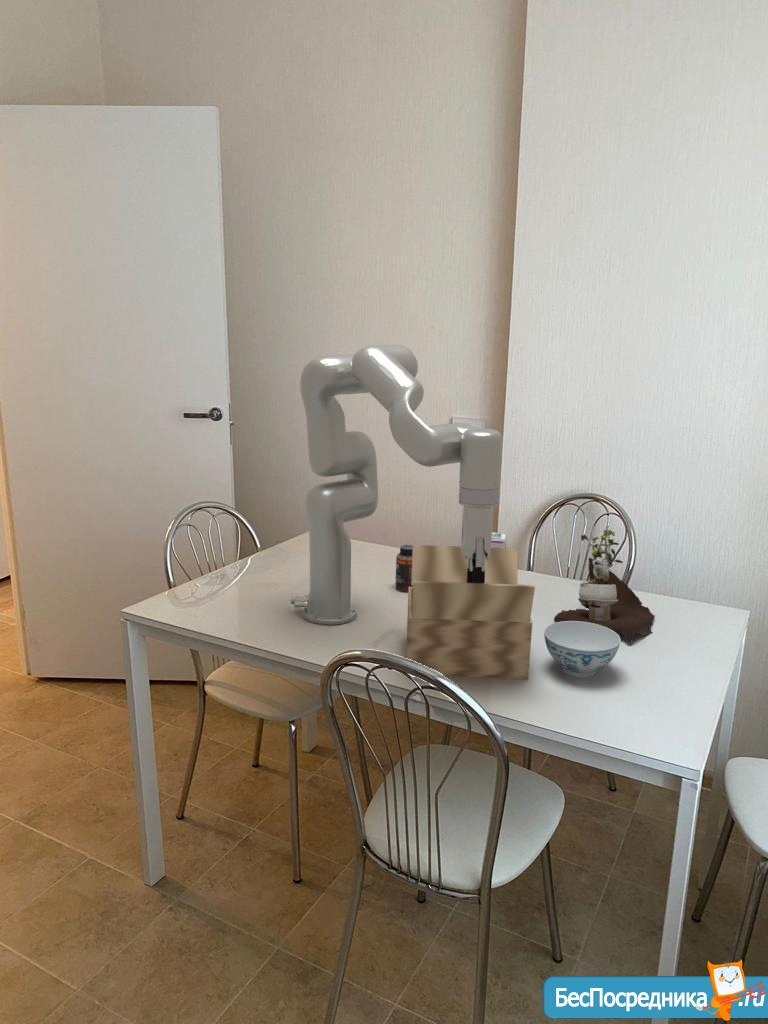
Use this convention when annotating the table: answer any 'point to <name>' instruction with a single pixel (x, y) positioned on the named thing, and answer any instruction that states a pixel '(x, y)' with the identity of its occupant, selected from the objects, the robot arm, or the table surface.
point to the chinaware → (581, 646)
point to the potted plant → (609, 597)
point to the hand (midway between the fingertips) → (475, 589)
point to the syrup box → (498, 540)
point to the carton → (470, 646)
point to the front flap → (472, 601)
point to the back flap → (462, 565)
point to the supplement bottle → (404, 568)
